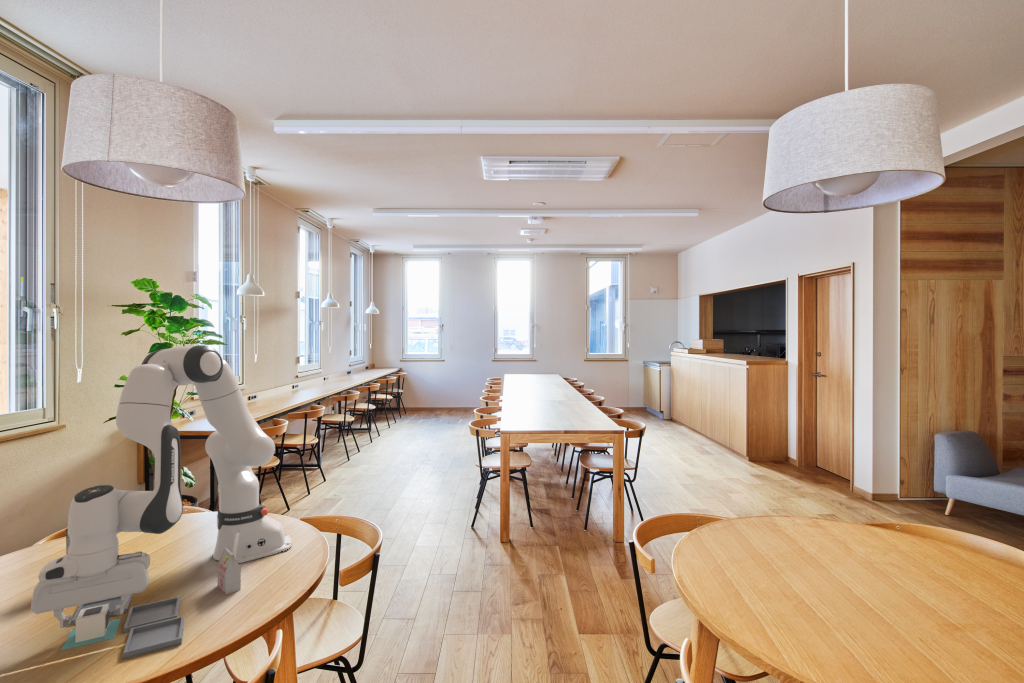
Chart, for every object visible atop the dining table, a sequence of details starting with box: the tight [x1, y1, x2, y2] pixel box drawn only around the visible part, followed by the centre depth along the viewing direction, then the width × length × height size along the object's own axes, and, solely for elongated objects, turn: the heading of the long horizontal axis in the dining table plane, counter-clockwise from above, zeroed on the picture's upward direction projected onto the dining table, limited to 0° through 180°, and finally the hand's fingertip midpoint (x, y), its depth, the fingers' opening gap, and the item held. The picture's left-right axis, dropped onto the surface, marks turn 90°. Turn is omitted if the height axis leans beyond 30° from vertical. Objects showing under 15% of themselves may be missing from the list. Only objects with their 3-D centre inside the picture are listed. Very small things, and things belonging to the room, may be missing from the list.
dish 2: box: [122, 595, 181, 634], centre depth 117 cm, size 10×10×1 cm
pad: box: [60, 617, 122, 652], centre depth 110 cm, size 9×9×1 cm
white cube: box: [75, 604, 110, 643], centre depth 110 cm, size 5×5×5 cm
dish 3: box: [122, 615, 185, 660], centre depth 109 cm, size 10×10×1 cm
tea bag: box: [217, 548, 242, 596], centre depth 132 cm, size 4×7×10 cm, turn 47°
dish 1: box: [70, 594, 134, 626], centre depth 120 cm, size 10×10×1 cm
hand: (93, 619), depth 110 cm, fingers open, 8 cm apart
